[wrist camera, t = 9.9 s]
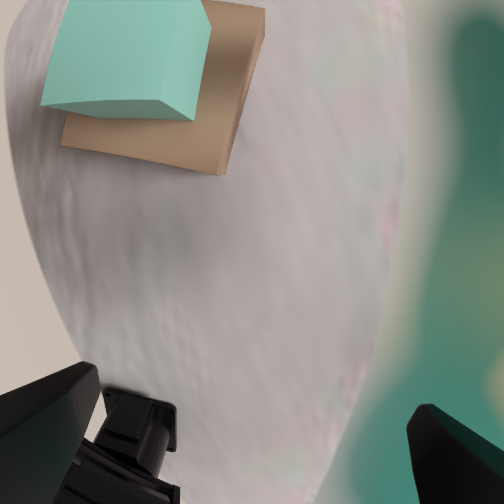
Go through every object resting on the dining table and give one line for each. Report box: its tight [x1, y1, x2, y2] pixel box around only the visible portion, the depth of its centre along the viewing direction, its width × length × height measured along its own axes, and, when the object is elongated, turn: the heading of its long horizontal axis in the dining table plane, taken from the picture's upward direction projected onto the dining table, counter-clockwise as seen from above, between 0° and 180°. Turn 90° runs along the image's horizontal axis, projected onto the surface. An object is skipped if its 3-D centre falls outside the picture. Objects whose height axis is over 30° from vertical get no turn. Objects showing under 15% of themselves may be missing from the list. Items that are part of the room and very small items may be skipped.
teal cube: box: [40, 0, 212, 121], centre depth 10 cm, size 5×5×5 cm
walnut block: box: [60, 0, 265, 175], centre depth 14 cm, size 9×9×4 cm
